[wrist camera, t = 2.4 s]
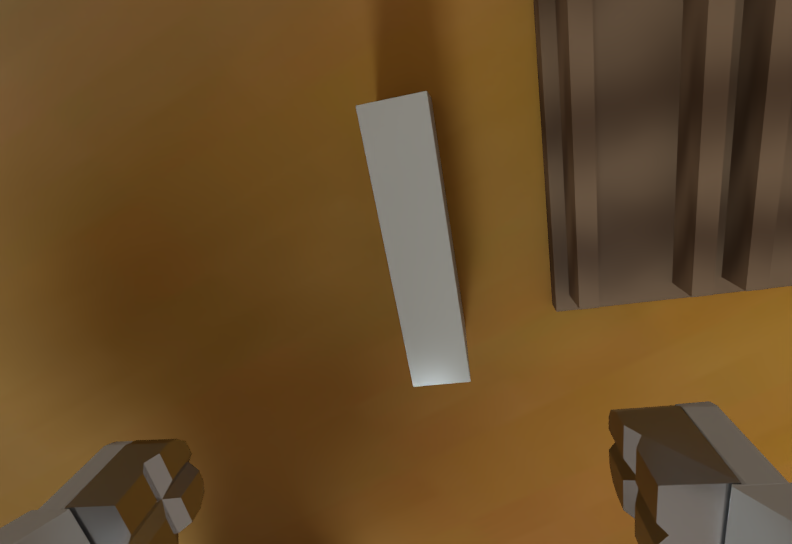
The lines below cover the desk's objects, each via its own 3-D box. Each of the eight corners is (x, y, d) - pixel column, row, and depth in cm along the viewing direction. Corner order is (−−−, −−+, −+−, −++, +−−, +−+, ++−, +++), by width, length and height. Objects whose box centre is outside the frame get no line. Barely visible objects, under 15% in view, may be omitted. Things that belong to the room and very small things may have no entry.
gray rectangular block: (465, 326, 27) (470, 381, 21) (419, 332, 27) (413, 386, 22) (431, 97, 22) (426, 90, 17) (377, 108, 23) (355, 105, 17)
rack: (854, 270, 23) (910, 291, 20) (552, 304, 26) (565, 327, 23) (945, -201, 16) (1048, -267, 14) (528, -90, 19) (542, -126, 16)
